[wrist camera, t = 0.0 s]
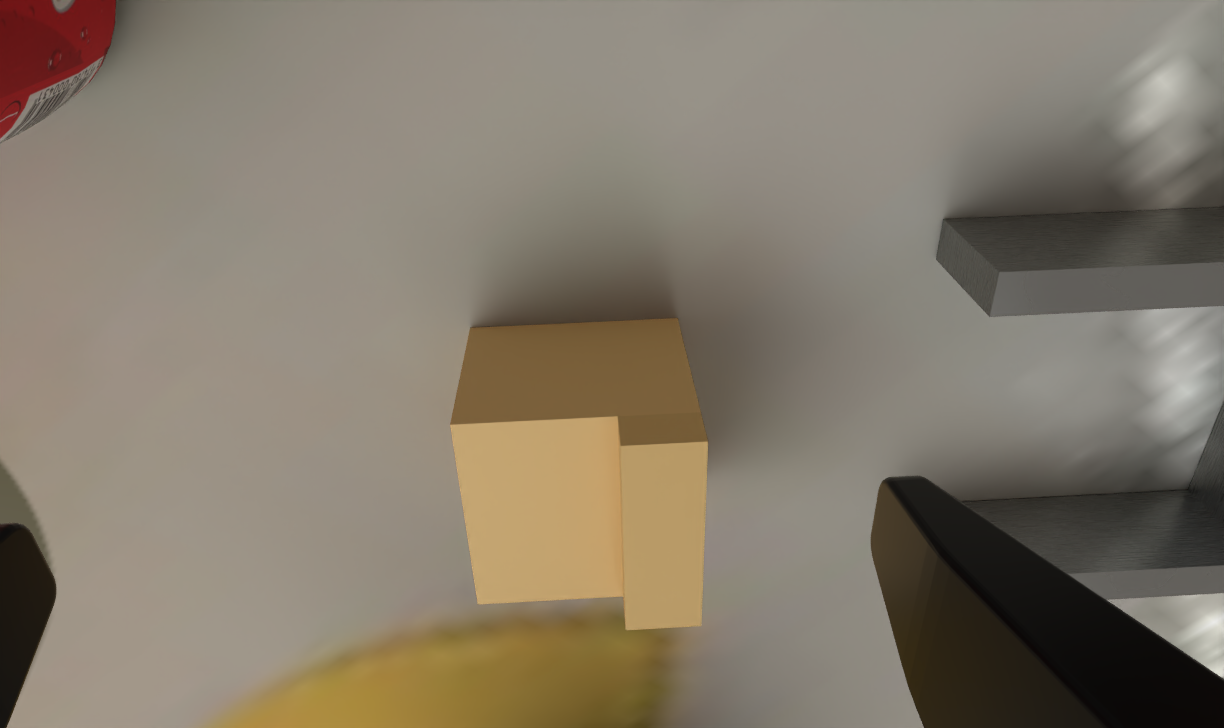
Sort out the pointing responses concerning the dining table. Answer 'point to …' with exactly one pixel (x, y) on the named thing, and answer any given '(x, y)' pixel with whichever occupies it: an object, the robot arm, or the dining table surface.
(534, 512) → the stepped block
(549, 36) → the dining table surface
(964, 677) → the robot arm
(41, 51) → the soda can
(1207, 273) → the bracket
